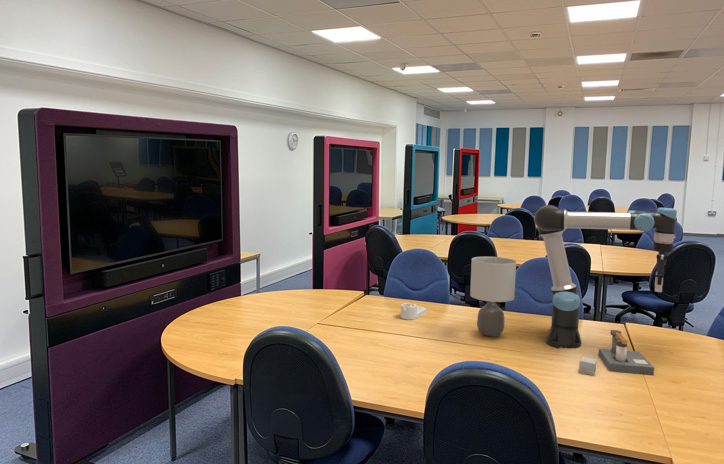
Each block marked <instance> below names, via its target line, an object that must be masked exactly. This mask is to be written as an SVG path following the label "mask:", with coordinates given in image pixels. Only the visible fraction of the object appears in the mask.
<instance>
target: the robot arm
mask: <svg viewBox="0 0 724 464" xmlns="http://www.w3.org/2000/svg"><path fill="white" fill-rule="evenodd" d="M677 213H678V212H677V210H676V209H675V208H672V207H658V208H657V211H644V210H628V211H627V212H612V211H611V212H609V211H608V212H607V211H605V212H603V211H600V212H599V211H597V212H595V211H568V210H567V209H565V208H564V209H560V208H558V206H555V205H552V204H545V205H543V206H541V207H540V208H539V209H538V210H536V212H535V213H534V217H533V220H534V224H535V226H536V227H537V230H538V235H539V236H540V237H541V238H542V239H543V242H544V247H545V252H546V256H547V262H548V266H549V270H550V275H551V280H552V285H553V286H551V288H550V291H551V294H552V301H551V303H552V308H551V309H552V311H551V323H550V324H551V325H550V328H549V330H548V332H547V335H546V339H545V342H546V343H547V345H550V346H551V347H554V348H558V349H559V348H561V349H570V350H571V349H578V348H581V346H582V337H581V335H580V331H579V325H580V323H579V322H580V321H579V320H580V311H581V310H580V307H581V298H580V295H579V293H578V288H577V285H576V283H573V281H572V275H571V271H570V266H569V261H568V257H567V252H566V248H565V243H564V238H563V233H564V232H565V231H566V230H567V229H582V230H583V229H584V230H585V229H587V230H589V229H591V230H619V231H621V230H622V231H624V230H625V231H627V230H628V231H639V232H647V231H648V232H649V231H650V230H651V229H654V236H653V241H654V242H653V246H652V250H653V251H654V252H655V251H656V252H658V254H656V269H655V274H654V277H655V280H654V292H657V293H662V292H663V286H664V276H665V271H666V270H665V266H666V264H667V260H668V255H666V253H672V252H673V249H674V244H673V243H674V239H676V235H675V231H676V225H677Z"/></svg>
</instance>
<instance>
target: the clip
mask: <svg viewBox="0 0 724 464" xmlns="http://www.w3.org/2000/svg"><path fill="white" fill-rule="evenodd" d="M610 335H611V336H615V337H616V338H617V339H618V341H619V342H620V343H621V344H627V345H628V340H627V339H626V338H625V337H624V336H623V335H622V330H621V331H620V330H618V329H611V330H610Z"/></svg>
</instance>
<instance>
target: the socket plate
mask: <svg viewBox="0 0 724 464" xmlns="http://www.w3.org/2000/svg"><path fill="white" fill-rule="evenodd" d="M611 336H612V338H611V349H609V348H600V347H599V348H598V352H597V353H598V356H599V358H600V359H601V361H602V362H603V364H604V365H605V366H606V368H607V370H608V371H609V372H619V373H629V374H639V375H641V374H642V375H650V376H653V375H654V372H655V366H653V365H652V364H651V363H650V361H649V360H648V359H646V357H645V356H644V355H643V354H642V353H641V352H640V351H635V350H627V354H626V362H619V361H615V359H616V346H617V345H616V344H617V342H618V339H617V338H616V337H615V336H613V335H611Z"/></svg>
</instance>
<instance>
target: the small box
mask: <svg viewBox="0 0 724 464" xmlns="http://www.w3.org/2000/svg"><path fill="white" fill-rule="evenodd" d="M597 361H598V360H597V359H595V358H589V357H585V356H582V357H581V358H580V360H579V366H578V373H580V374H584V375H590V376H595V373H596V370H597Z"/></svg>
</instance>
